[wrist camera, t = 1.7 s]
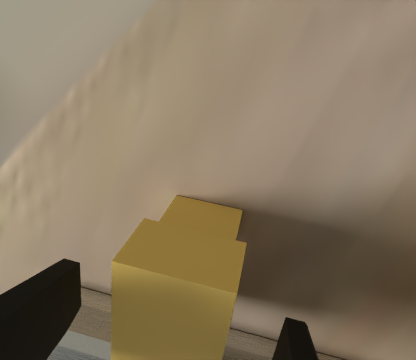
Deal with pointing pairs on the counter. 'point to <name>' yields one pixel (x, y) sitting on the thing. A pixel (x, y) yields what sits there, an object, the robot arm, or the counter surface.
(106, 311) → the rail
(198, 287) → the yellow block with ridge
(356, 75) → the counter surface
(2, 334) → the robot arm
